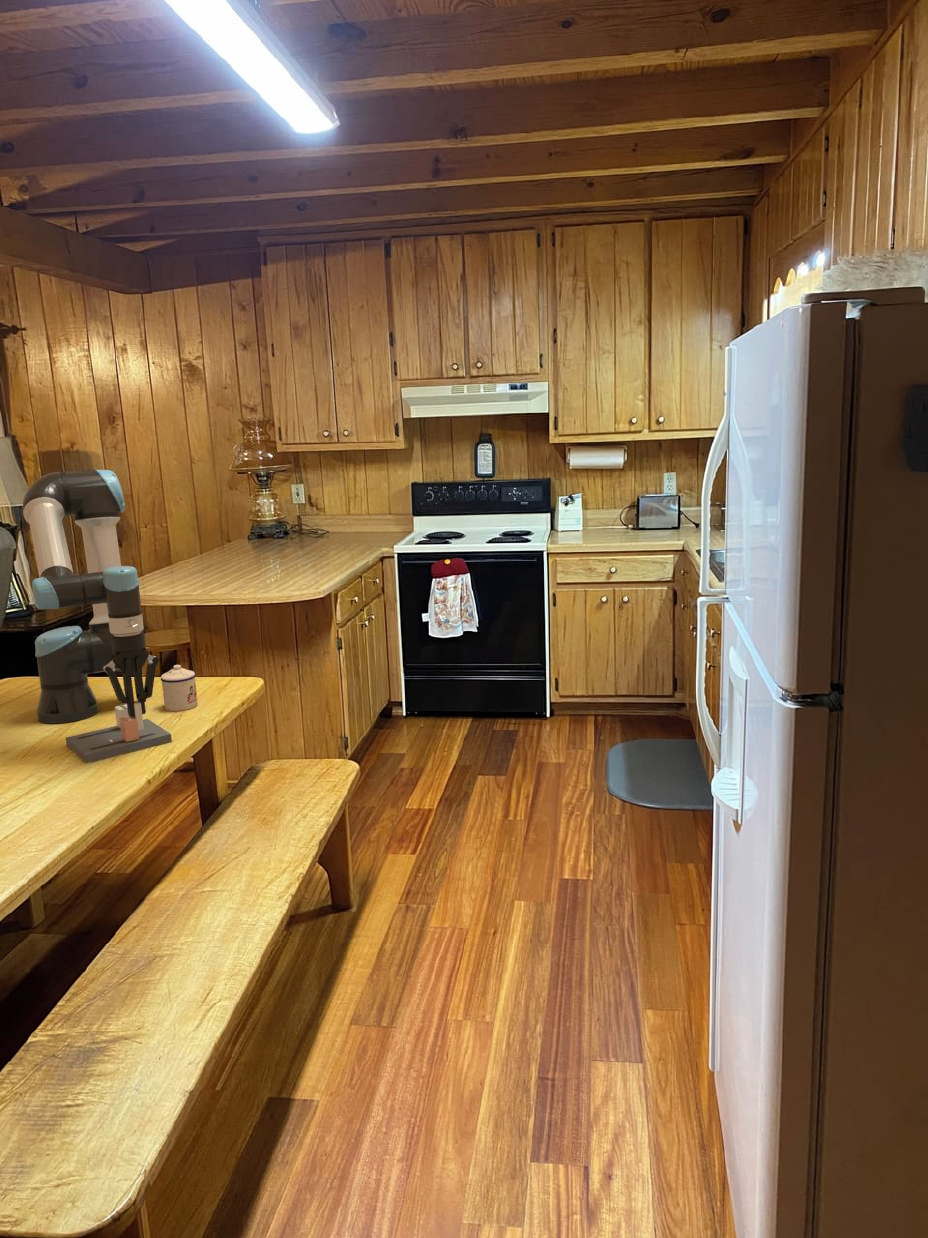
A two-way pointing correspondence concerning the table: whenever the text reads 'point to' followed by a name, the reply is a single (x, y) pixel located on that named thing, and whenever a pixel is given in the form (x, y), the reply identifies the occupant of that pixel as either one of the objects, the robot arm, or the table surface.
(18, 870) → the table surface
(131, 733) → the fader
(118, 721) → the fader
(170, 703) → the teacup with lid
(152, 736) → the mixer board
